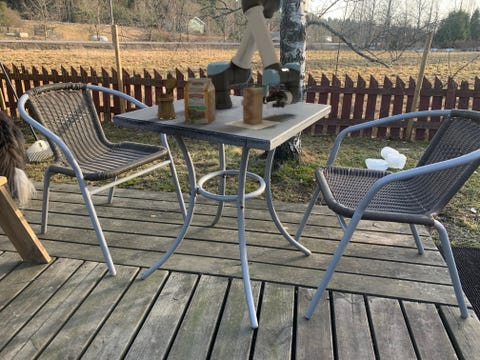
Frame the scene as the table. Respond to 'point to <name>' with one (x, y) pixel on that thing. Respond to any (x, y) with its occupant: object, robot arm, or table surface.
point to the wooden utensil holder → (167, 100)
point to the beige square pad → (255, 127)
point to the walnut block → (252, 105)
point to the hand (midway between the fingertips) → (254, 104)
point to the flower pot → (265, 89)
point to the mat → (278, 118)
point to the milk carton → (199, 101)
